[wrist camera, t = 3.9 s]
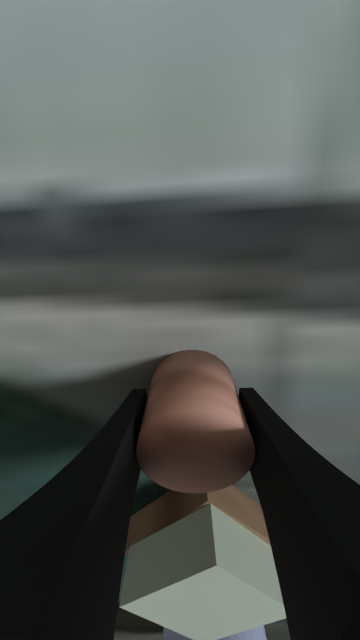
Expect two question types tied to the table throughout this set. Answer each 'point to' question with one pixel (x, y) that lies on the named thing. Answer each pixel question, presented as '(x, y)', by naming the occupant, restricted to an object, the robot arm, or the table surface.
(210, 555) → the sage top slab
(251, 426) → the robot arm
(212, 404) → the salmon pink cylinder
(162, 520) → the walnut base slab
